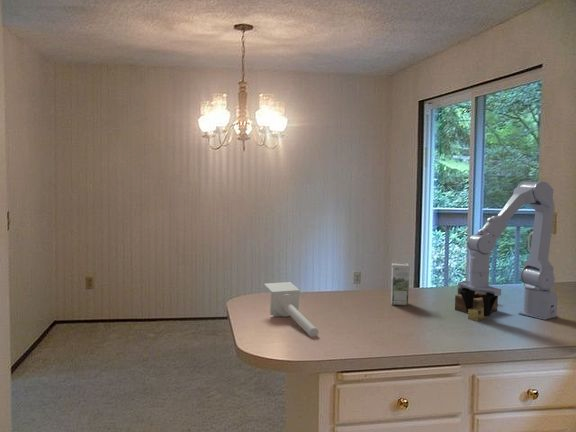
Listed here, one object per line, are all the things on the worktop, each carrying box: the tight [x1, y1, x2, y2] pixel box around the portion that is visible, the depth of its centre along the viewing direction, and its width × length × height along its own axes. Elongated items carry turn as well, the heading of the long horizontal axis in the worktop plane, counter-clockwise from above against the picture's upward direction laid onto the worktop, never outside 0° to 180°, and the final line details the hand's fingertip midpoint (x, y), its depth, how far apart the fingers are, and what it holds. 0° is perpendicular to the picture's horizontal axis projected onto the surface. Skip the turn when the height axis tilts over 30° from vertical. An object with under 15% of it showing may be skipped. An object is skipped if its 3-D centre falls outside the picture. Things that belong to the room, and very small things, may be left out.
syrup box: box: [390, 262, 410, 307], centre depth 195 cm, size 6×6×14 cm
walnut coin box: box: [454, 292, 499, 314], centre depth 188 cm, size 11×9×5 cm
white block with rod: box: [263, 281, 320, 338], centre depth 169 cm, size 9×9×32 cm
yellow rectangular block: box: [467, 306, 489, 322], centre depth 177 cm, size 6×4×3 cm, turn 131°
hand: (478, 314), depth 177 cm, fingers open, 6 cm apart
